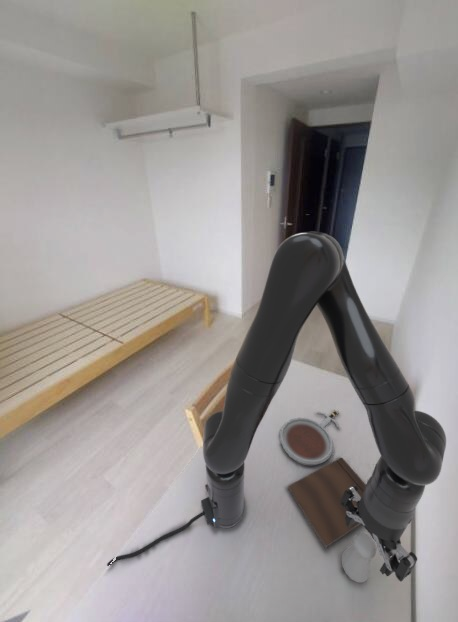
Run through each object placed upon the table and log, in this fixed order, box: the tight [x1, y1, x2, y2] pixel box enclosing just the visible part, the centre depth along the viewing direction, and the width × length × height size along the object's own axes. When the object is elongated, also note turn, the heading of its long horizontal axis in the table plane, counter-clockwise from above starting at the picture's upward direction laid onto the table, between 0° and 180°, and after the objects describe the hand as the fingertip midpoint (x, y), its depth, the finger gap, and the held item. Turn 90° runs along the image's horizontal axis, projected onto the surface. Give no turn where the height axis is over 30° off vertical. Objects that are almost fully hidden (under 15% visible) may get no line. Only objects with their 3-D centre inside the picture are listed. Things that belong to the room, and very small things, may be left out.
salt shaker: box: [341, 531, 378, 583], centre depth 58 cm, size 6×6×13 cm
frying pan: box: [279, 409, 340, 467], centre depth 92 cm, size 17×3×28 cm
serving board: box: [287, 457, 367, 549], centre depth 74 cm, size 20×15×2 cm
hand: (366, 545), depth 56 cm, fingers open, 8 cm apart
